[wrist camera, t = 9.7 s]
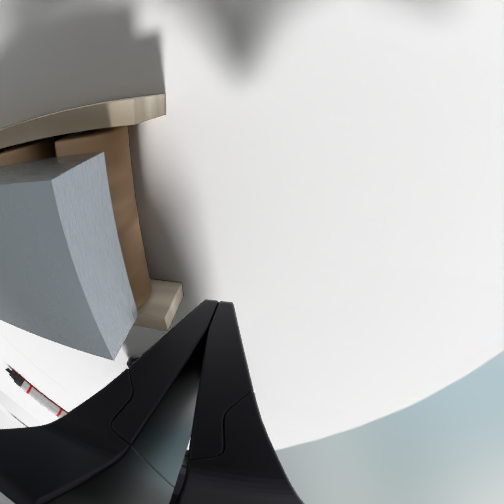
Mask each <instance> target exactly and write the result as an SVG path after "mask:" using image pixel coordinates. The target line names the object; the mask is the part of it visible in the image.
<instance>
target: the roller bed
mask: <svg viewBox="0 0 504 504" xmlns="http://www.w3.org/2000/svg"><path fill="white" fill-rule="evenodd" d="M163 115H166V104H165V94H158V95H149V96H140V97H132V98H125V99H119V100H112V101H106V102H101V103H95V104H90V105H85V106H80V107H76V108H71V109H67V110H63V111H59V112H55V113H51V114H47V115H43V116H40V117H36V118H33V119H30V120H26V121H23V122H20V123H17V124H14V125H11V126H8V127H5V128H2V129H0V166H4V165H9V164H14V163H20V162H25V161H31V160H38V159H44V158H52V157H56V156H57V157H59V156H67V155H76V154H85V153H95V152H104V156H105V164H106V171H107V178H108V185H109V191H110V197H111V202H112V208H113V213H114V219H115V224H116V229H117V233H118V238H119V242H120V247H121V251H122V256H123V260H124V264H125V268H126V272H127V276H128V279H129V283H130V287H131V291H132V294H133V298H134V301H135V305H136V308H137V311H138V316H137V318H136V320H135V322H134V324H133V325H138V326H143V327H149V328H154V329H159V330H165V331H168V329H169V327H170V325H171V322H172V320H173V318H174V316H175V313H176V311H177V309H178V307H179V304H180V302H181V300H182V298H183V290H182V283H177V282H169V281H161V280H154V279H150V277H149V272H148V267H147V262H146V257H145V252H144V247H143V241H142V236H141V230H140V224H139V218H138V212H137V205H136V198H135V191H134V183H133V175H132V167H131V157H130V147H129V136H128V126H127V125H135V124H138V123H141V122H144V121H147V120H150V119H153V118H156V117H159V116H163ZM80 131H82V132H80ZM74 132H79V133H75V134H72V135H69V136H66V137H64V138H61V139H59V140H57V141H56V142H55V147H54V140H53V136H57V135H62V134H68V133H74ZM24 142H25V143H24ZM20 143H22V144H20ZM16 144H20V145H17V146H14V147H12V148H10V149H8V150H6V147H8V146H12V145H16ZM55 149H56V154H55Z"/></svg>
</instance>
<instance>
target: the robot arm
mask: <svg viewBox="0 0 504 504" xmlns="http://www.w3.org/2000/svg"><path fill="white" fill-rule="evenodd" d="M127 365H128V368H129V369H126V370H125V371H123V372H122V373H121V374H120V375H119V376H118V377H117V378H115V379H114V380H113V381H112V382H110V383H109V384H108V385H107V386H106V387H104V388H103V389H102V390H100V391H99V392H97V393H96V394H95V395H93V396H92V397H91V398H89V399H88V400H86V401H85V402H83V403H82V404H80V405H79V406H77V407H76V408H74V409H73V410H71V411H70V412H68V413H67V414H66V415H64V416H63V417H61V418H59V419H58V420H56V421H54V422H52V423H49V424H46V425H42V426H36V427H26V428H14V429H0V504H304V503H303V501H302V500H301V499H300V497H299V496H298V495H297V493H296V492H295V490H294V488H293V487H292V485H291V483H290V482H289V479H288V478H287V476H286V474H285V472H284V469H283V467H282V465H281V463H280V461H279V459H278V457H277V454H276V452H275V450H274V448H273V446H272V443H271V441H270V439H269V437H268V434H267V432H266V429H265V427H264V424H263V422H262V419H261V415H260V412H259V409H258V405H257V402H256V397H255V393H254V392H253V386H252V382H251V378H250V373H249V369H248V365H247V361H246V357H245V352H244V348H243V344H242V340H241V335H240V331H239V326H238V322H237V318H236V313H235V309H234V304H233V303H232V302H224V301H220V302H218V301H216V300H204V301H203V302H202V303H201V304H200V305H198V306H197V307H196V308H195V309H194V310H193V311H192V312H191V313H189V314H188V315H187V316H186V317H185V318H184V319H183V320H181V321H180V322H179V323H178V324H177V325H176V326H175V327H174V328H172V329H171V330H170V331H169V332H168V333H167V334H166V335H165V336H163V337H162V338H161V339H160V340H159V341H158V342H157V343H155V344H154V345H153V346H152V347H151V348H150V349H149V350H147V351H146V352H145V353H144V354H143V355H142V356H141V357H140V358H138V359H137V360H136V359H132V358H129V359H128V361H127ZM190 437H191V439H190ZM189 440H190V446H189V450H187V446H188V443H189Z"/></svg>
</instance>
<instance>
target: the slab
mask: <svg viewBox="0 0 504 504" xmlns="http://www.w3.org/2000/svg"><path fill="white" fill-rule="evenodd" d="M137 316H138V311H137V308H136V305H135V301H134V298H133V294H132V291H131V287H130V283H129V279H128V276H127V272H126V268H125V264H124V260H123V256H122V251H121V247H120V242H119V238H118V233H117V229H116V224H115V219H114V213H113V208H112V202H111V197H110V191H109V185H108V178H107V171H106V164H105V156H104V152H95V153H85V154H76V155H67V156H59V157H52V158H44V159H38V160H31V161H25V162H20V163H14V164H9V165H4V166H0V320H2V321H5V322H7V323H9V324H11V325H14V326H16V327H18V328H21V329H23V330H26V331H28V332H30V333H33V334H35V335H38V336H41V337H43V338H46V339H49V340H51V341H54V342H57V343H60V344H62V345H65V346H68V347H71V348H74V349H77V350H80V351H83V352H87V353H90V354H93V355H96V356H100V357H103V358H107V359H110V360H114V359H115V357H116V355H117V354H118V352H119V350H120V348H121V346H122V344H123V342H124V340H125V338H126V337H127V335H128V333H129V331H130V329H131V327H132V326H133V324H134V322H135V320H136V318H137Z"/></svg>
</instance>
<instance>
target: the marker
mask: <svg viewBox="0 0 504 504" xmlns="http://www.w3.org/2000/svg"><path fill="white" fill-rule="evenodd" d="M5 370H7V371H8V372H9V373H10V374H9V375H10V376H11V377H12V378H13V379H14V382H15V383H16V384H17V385H19V386H20V387H21V388H22V389H23V390H24V391H25V392H27V393H28V394H29V395H30V396H31V397H33V398H34V399H35V400H36V401H38V402H39V403H40V404H42V405H43V406H44V407H46V408H47V409H48V410H50V411H51V412H52V413H54V414H55V415H56V416H58V417H59V418H61V417H63V416H64V415H66V414H67V412H66V411H64V410H63V409H62V408H60V407H59V406H57V405H56V404H55V403H53V402H52V401H51V400H49V399H48V398H47V397H46V396H44V395H43V394H42V393H40V392H39V391H38V390H37V389H35V388H34V387H33V386H32V385H31V384H29V383H28V382H27V381H26V380H25V379H23V378H22V377H21V376H20V375H19V374H17V373H16V372H14V371H13V370H12V371H11V370H10V369H9V368H7V369H5Z"/></svg>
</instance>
